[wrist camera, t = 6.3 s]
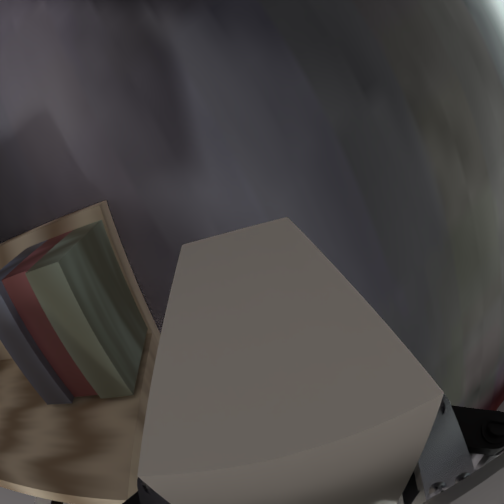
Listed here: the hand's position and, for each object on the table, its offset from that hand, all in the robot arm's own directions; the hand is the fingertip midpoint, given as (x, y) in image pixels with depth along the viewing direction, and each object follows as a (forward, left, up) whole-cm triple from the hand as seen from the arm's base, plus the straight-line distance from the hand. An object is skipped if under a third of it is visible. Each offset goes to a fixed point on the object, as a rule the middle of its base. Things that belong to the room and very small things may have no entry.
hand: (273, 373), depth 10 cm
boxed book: (0, 0, -4) cm, 4 cm away
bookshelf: (+19, 0, -13) cm, 23 cm away
